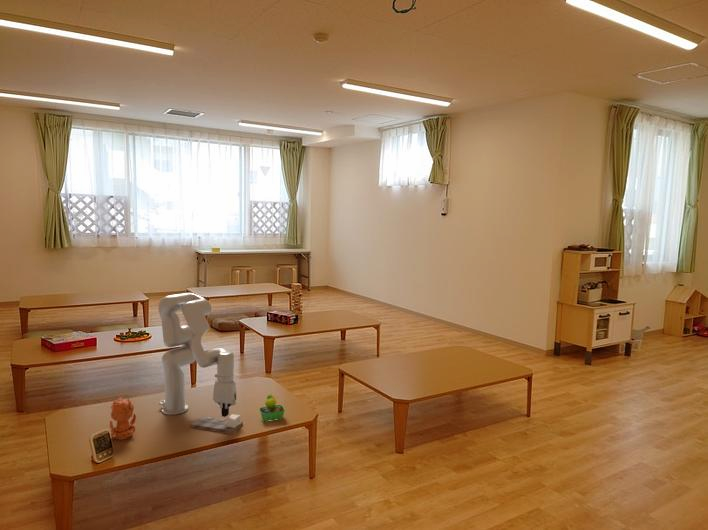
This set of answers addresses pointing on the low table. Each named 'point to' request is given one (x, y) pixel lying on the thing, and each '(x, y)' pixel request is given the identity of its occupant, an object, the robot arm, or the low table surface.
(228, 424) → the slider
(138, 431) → the low table surface
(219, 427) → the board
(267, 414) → the fruit basket
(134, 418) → the orange figurine
